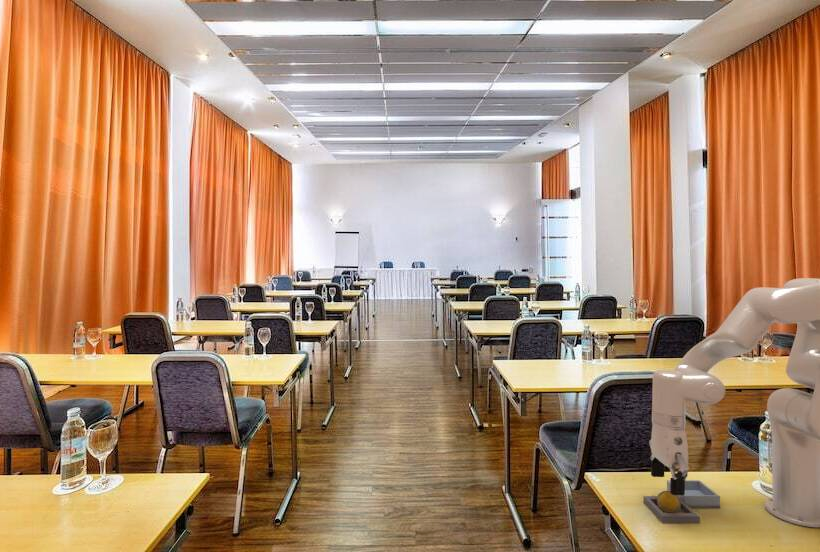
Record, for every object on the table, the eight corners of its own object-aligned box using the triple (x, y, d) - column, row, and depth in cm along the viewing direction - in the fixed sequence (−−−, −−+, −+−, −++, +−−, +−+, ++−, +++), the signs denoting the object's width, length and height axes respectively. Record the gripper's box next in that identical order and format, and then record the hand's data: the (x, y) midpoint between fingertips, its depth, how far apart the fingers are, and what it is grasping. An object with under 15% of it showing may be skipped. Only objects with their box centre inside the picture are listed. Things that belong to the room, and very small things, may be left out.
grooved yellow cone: (686, 513, 118) (682, 498, 112) (666, 520, 119) (661, 506, 113) (674, 493, 122) (670, 478, 116) (654, 500, 123) (649, 485, 117)
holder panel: (677, 502, 122) (677, 496, 122) (699, 523, 112) (699, 516, 112) (643, 502, 123) (643, 496, 123) (662, 523, 113) (662, 516, 113)
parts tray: (699, 491, 128) (699, 480, 128) (720, 507, 119) (719, 496, 119) (667, 491, 129) (666, 480, 129) (684, 507, 120) (684, 496, 120)
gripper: (703, 431, 108) (702, 502, 109) (665, 409, 126) (664, 470, 126) (671, 430, 109) (669, 501, 109) (638, 408, 126) (637, 470, 126)
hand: (667, 485), depth 117 cm, fingers open, 9 cm apart
